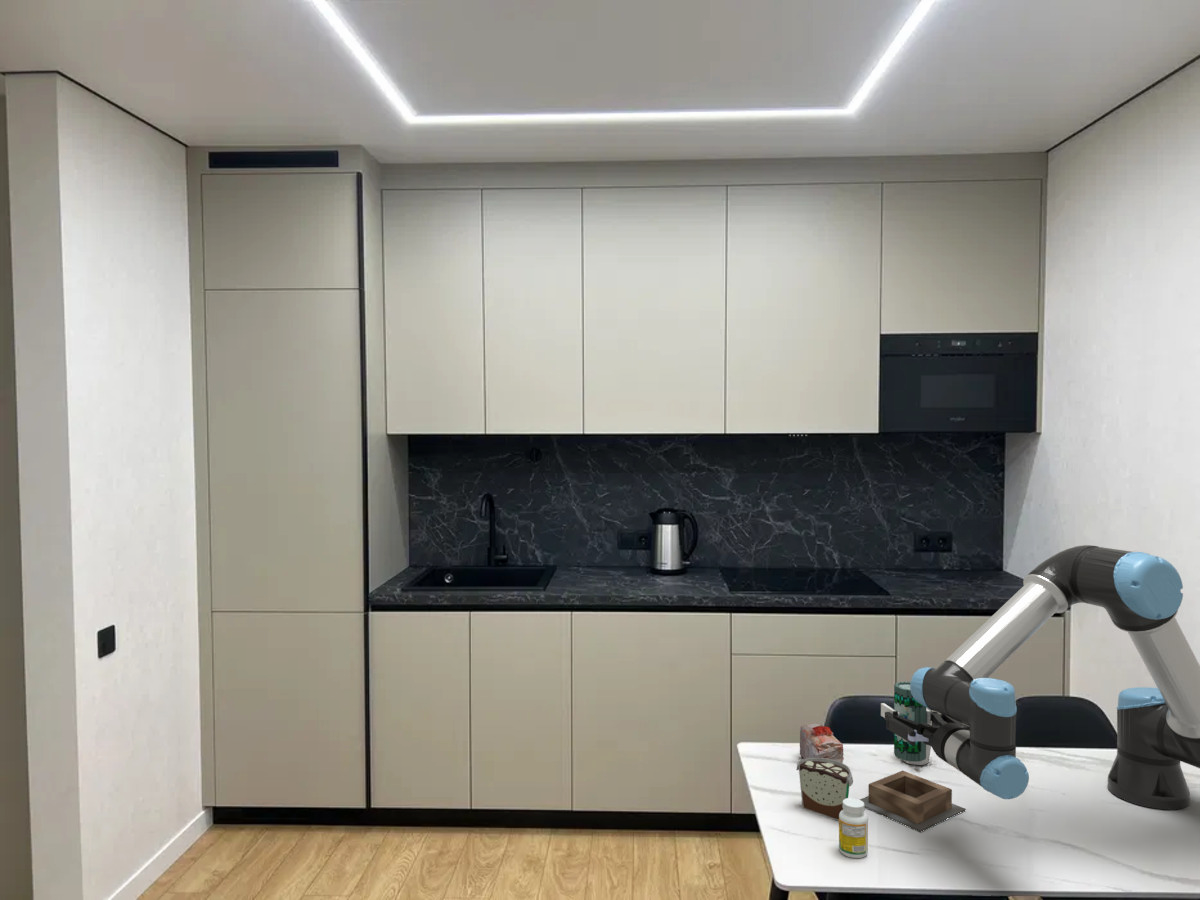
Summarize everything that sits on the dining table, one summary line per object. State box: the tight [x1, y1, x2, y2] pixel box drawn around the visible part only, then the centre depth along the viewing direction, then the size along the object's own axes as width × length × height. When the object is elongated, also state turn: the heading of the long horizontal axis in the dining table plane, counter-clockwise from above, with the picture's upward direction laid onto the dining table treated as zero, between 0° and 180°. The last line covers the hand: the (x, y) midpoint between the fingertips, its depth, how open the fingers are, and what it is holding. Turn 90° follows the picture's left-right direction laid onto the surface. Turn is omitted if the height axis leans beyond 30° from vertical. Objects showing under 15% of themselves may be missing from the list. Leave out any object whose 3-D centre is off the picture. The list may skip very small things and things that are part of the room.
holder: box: [859, 770, 967, 833], centre depth 181 cm, size 16×16×4 cm
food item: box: [799, 723, 845, 764], centre depth 202 cm, size 14×8×10 cm, turn 7°
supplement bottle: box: [838, 797, 869, 859], centre depth 162 cm, size 5×5×10 cm
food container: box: [796, 758, 854, 822], centre depth 179 cm, size 12×6×10 cm, turn 47°
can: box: [893, 681, 927, 762], centre depth 180 cm, size 6×6×15 cm
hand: (897, 708), depth 185 cm, fingers closed on can, 6 cm apart
